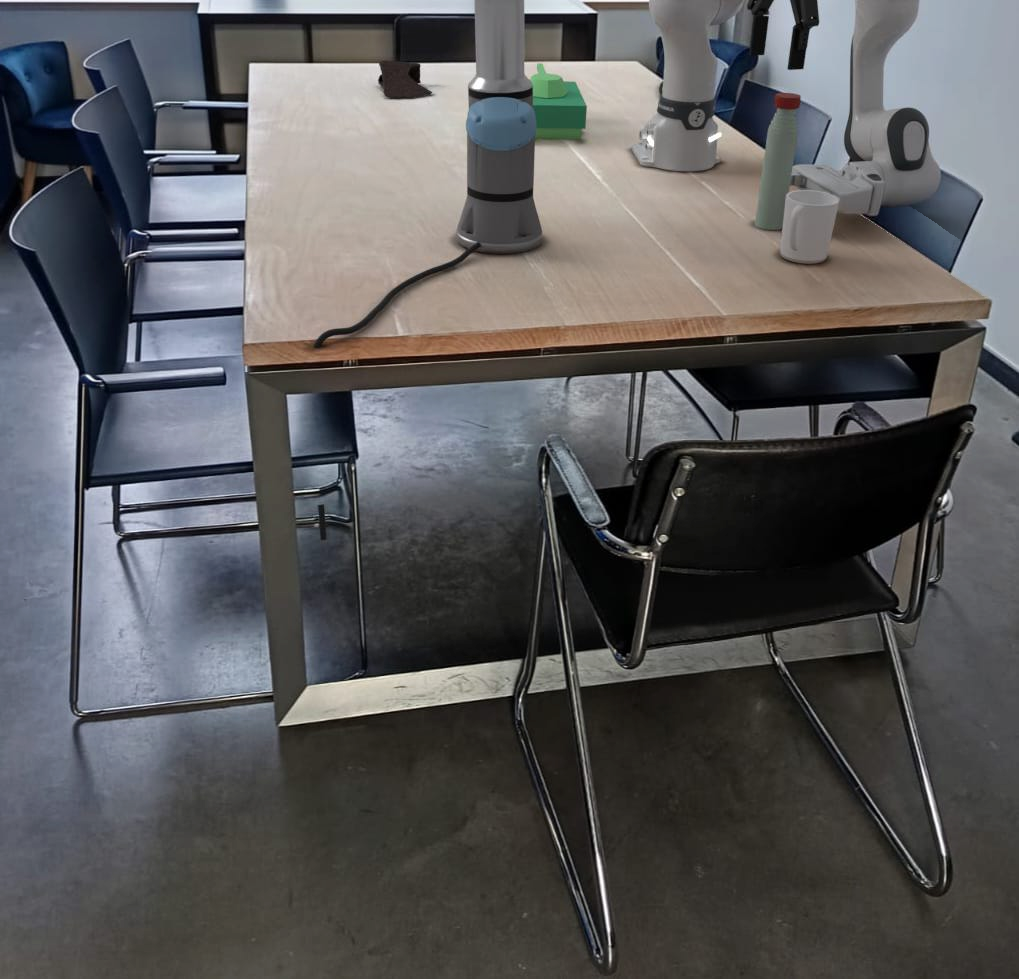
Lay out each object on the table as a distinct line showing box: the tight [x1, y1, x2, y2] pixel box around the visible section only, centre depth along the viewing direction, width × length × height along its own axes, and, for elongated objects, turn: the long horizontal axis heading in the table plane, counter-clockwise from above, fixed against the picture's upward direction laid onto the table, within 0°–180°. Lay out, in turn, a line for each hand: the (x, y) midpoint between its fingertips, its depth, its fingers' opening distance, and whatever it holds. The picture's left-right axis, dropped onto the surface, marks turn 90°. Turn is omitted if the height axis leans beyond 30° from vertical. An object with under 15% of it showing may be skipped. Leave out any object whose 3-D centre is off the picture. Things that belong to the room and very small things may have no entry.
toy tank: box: [529, 63, 588, 141], centre depth 266 cm, size 18×12×35 cm
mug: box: [779, 189, 840, 265], centre depth 188 cm, size 11×9×10 cm
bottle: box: [754, 108, 799, 231], centre depth 200 cm, size 5×5×23 cm
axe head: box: [377, 59, 433, 99], centre depth 299 cm, size 18×8×15 cm
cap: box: [773, 92, 802, 110], centre depth 194 cm, size 4×4×2 cm
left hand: (775, 62), depth 193 cm, fingers open, 13 cm apart
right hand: (790, 189), depth 204 cm, fingers open, 8 cm apart
